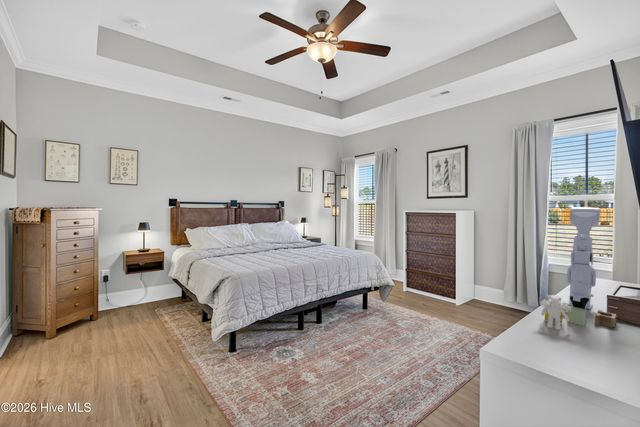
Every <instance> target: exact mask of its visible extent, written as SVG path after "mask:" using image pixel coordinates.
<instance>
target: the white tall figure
mask: <svg viewBox="0 0 640 427" xmlns="http://www.w3.org/2000/svg"><path fill="white" fill-rule="evenodd" d="M547 295H548V296H549V295H550V294H547ZM551 295H552V296H551V297H552V298H553V297H555V298H558V299H559V300H560V301H561V305H562V307H563V304H562V303H563V302H562V297H561V296H558V295H555V294H551ZM552 298H549V297H547V300H546V301H547V303H548V304H549V300H550V299H552ZM546 312H547V311H546ZM563 318H564V316H563V315H562V313H561V315H560V325H562V324H563ZM548 319H549V314H548V312H547V314H546V313H544V321H545V322H547V323H548ZM555 324H556V321H555V318H554V319H553V325H555Z"/></svg>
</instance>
